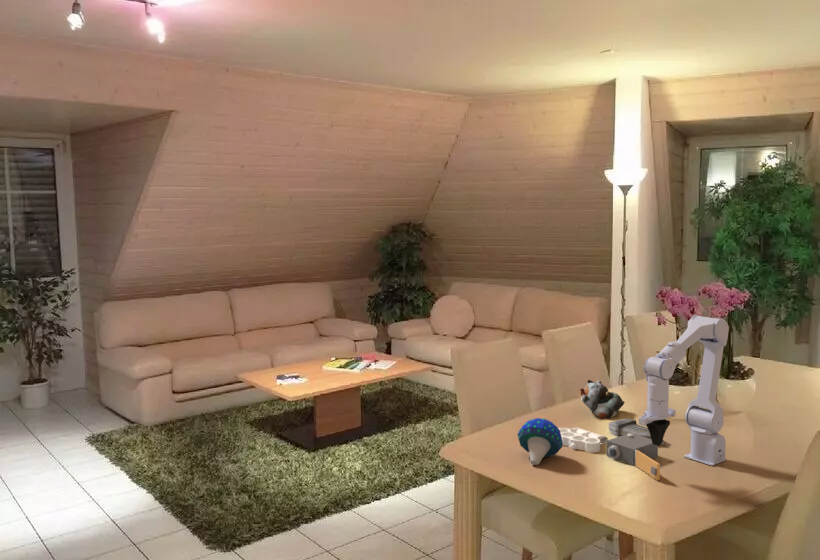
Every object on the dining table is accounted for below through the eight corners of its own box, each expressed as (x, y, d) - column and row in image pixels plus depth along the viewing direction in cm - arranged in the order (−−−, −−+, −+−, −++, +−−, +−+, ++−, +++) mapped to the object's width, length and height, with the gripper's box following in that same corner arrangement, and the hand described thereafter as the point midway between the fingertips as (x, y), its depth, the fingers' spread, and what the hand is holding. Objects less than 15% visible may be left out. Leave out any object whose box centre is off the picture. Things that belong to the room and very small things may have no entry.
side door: (654, 480, 196) (655, 464, 196) (632, 464, 208) (632, 450, 207) (659, 479, 196) (660, 464, 196) (636, 464, 208) (637, 449, 208)
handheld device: (654, 450, 221) (654, 436, 221) (605, 434, 238) (605, 420, 238) (672, 444, 227) (673, 430, 226) (623, 428, 243) (624, 415, 243)
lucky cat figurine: (609, 421, 250) (591, 387, 251) (585, 426, 260) (567, 393, 260) (631, 401, 259) (612, 369, 260) (607, 407, 269) (589, 375, 269)
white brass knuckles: (615, 446, 226) (586, 456, 217) (572, 432, 240) (543, 441, 231) (615, 436, 225) (586, 446, 217) (573, 423, 240) (543, 431, 231)
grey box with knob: (657, 456, 215) (658, 439, 214) (630, 466, 207) (630, 448, 207) (630, 447, 223) (631, 431, 222) (603, 457, 215) (603, 439, 215)
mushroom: (514, 444, 205) (524, 404, 215) (509, 468, 216) (519, 428, 226) (561, 457, 202) (569, 416, 212) (554, 481, 212) (562, 440, 222)
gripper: (661, 391, 205) (660, 435, 207) (630, 400, 197) (629, 446, 199) (682, 396, 200) (681, 442, 201) (651, 405, 191) (650, 453, 193)
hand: (656, 444), depth 199 cm, fingers closed
